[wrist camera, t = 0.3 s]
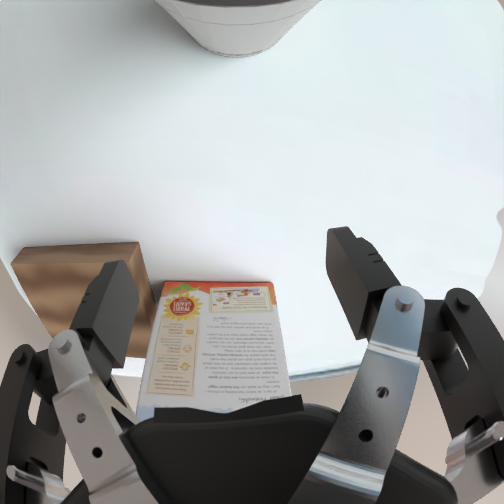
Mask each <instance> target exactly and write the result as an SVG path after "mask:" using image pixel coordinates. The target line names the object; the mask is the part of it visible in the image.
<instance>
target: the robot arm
mask: <svg viewBox="0 0 504 504" xmlns="http://www.w3.org/2000/svg"><path fill="white" fill-rule="evenodd" d="M155 1H156V2H157V3H158V4H159V5H160V6H161V7H163V8H164V9H165V10H166V11H167V12H168V13H169V14H170V15H171V16H172V17H173V18H174V19H175V20H176V21H177V22H178V23H179V24H180V25H181V26H182V27H183V28H184V29H185V30H186V31H187V32H188V33H189V34H190V35H191V36H192V37H193V38H194V39H195V40H196V41H197V42H198V43H199V44H200V45H201V46H203V47H204V48H206V49H207V50H209V51H211V52H213V53H216V54H219V55H223V56H227V57H245V56H251V55H255V54H258V53H261V52H263V51H265V50H267V49H269V48H270V47H271V46H273V45H274V44H276V43H277V42H278V41H279V40H280V39H281V38H282V37H283V36H284V35H285V34H286V33H287V32H288V31H289V30H290V29H291V28H292V27H293V26H294V25H295V24H296V23H297V22H298V21H299V20H300V19H301V18H302V17H303V16H304V15H305V14H307V13H308V12H309V11H310V10H311V9H312V8H313V7H314V6H315V5H316V4H318V3H319V2H320V1H321V0H155ZM326 270H327V274H328V277H329V279H330V281H331V284H332V286H333V288H334V290H335V292H336V295H337V297H338V299H339V301H340V303H341V306H342V308H343V310H344V313H345V315H346V317H347V319H348V322H349V324H350V326H351V329H352V331H353V333H354V336H355V338H356V340H360V339H364V338H367V340H368V343H369V344H368V346H367V349H366V352H365V354H364V357H363V360H362V362H361V365H360V367H359V370H358V372H357V375H356V377H355V380H354V382H353V385H352V387H351V389H350V392H349V394H348V396H347V398H346V400H345V403H344V405H343V407H342V409H341V411H340V412H338V411H336V410H334V409H331V408H329V407H326V406H321V405H317V404H310V403H303V401H302V397H301V394H300V395H294V396H289V397H283V398H277V399H270V400H263V401H261V402H258V403H255V404H253V405H250V406H247V407H244V408H241V409H238V410H235V411H232V412H229V413H217V412H211V411H206V410H200V409H195V408H190V407H154V417H151V418H149V419H146V420H143V421H141V420H140V419H139V418H138V417H137V416H136V415H135V413H134V412H133V411H132V409H131V407H130V405H129V404H128V402H127V400H126V399H125V397H124V395H123V393H122V392H121V390H120V388H119V386H118V385H117V383H116V381H115V379H114V377H113V376H112V375H111V371H112V368H123V367H124V362H125V357H126V353H127V348H128V344H129V340H130V336H131V332H132V328H133V324H134V320H135V316H136V312H137V308H138V305H139V292H138V289H137V286H136V284H135V282H134V280H133V278H132V276H131V273H130V271H129V269H128V267H127V265H126V263H125V261H124V260H115V261H109V262H105V263H104V265H103V267H102V269H101V271H100V273H99V275H98V276H96V277H95V278H94V279H93V280H92V282H91V283H90V284H89V285H88V287H87V289H86V292H85V296H83V298H82V300H81V304H80V305H79V307H78V309H77V311H76V314H75V316H74V318H73V321H72V323H71V325H70V328H69V330H64V331H62V332H60V333H58V334H57V335H56V336H55V337H54V338H53V340H52V341H51V343H50V345H49V348H48V349H46V350H43V351H40V352H37V353H36V352H35V350H34V349H33V348H32V347H31V346H30V345H28V344H23V345H21V346H19V347H18V348H17V349H16V350H15V351H14V352H13V353H12V355H11V357H10V360H9V362H8V365H7V369H6V371H5V374H4V377H3V380H2V383H1V386H0V504H473V503H474V502H476V501H478V500H479V499H481V498H482V497H484V496H485V495H486V494H488V493H489V492H490V491H492V490H493V489H495V488H496V487H497V486H499V485H500V484H502V483H504V340H503V338H502V337H501V335H500V333H499V332H498V330H497V328H496V327H495V325H494V324H493V322H492V321H491V319H490V317H489V316H488V314H487V313H486V311H485V310H484V308H483V307H482V305H481V304H480V302H479V301H478V299H477V298H476V297H475V296H474V295H473V294H472V293H471V292H469V291H468V290H465V289H462V288H453V289H451V290H449V291H448V292H447V294H446V296H445V299H444V300H427V299H423V297H422V296H421V294H420V293H419V292H417V291H416V290H414V289H412V288H410V287H407V286H402V285H401V284H400V282H399V281H398V279H397V278H396V277H395V275H394V274H393V272H392V271H391V269H390V268H389V267H388V265H387V264H386V262H385V261H383V258H382V257H381V256H380V254H378V251H377V250H376V249H375V247H374V246H373V245H372V244H371V243H370V242H368V241H367V240H365V239H364V238H362V237H360V238H356V237H355V235H354V234H353V233H352V231H351V230H350V228H349V227H347V226H346V227H338V228H331V229H328V232H327V247H326ZM458 346H459V348H460V350H461V352H462V354H463V356H464V358H465V360H466V362H467V364H468V369H467V367H466V365H465V362H464V360H463V358H462V356H461V354H460V352H459V350H458ZM420 360H423V362H424V365H425V367H426V369H427V372H428V374H429V377H430V379H431V382H432V384H433V387H434V389H435V392H436V394H437V397H438V400H439V402H440V405H441V408H442V410H443V413H444V416H445V419H446V422H447V425H448V428H449V431H450V434H451V437H452V441H451V443H450V445H449V447H448V450H447V456H446V459H445V462H446V464H447V470H446V473H445V476H442V475H440V474H438V473H436V472H434V471H433V470H431V469H429V468H427V467H426V466H424V465H422V464H420V463H419V462H417V461H415V460H413V459H412V458H410V457H408V456H407V455H405V454H403V453H402V452H400V451H398V450H397V449H396V446H397V443H398V441H399V438H400V435H401V432H402V429H403V426H404V423H405V420H406V417H407V414H408V410H409V407H410V403H411V400H412V396H413V392H414V389H415V385H416V380H417V376H418V372H419V367H420ZM468 370H469V371H468ZM33 392H34V393H36V394H37V395H38V396H39V397H40V398H41V401H40V406H39V410H38V415H37V420H36V425H34V424H32V423H31V421H30V419H29V416H28V409H29V405H30V401H31V397H32V393H33ZM66 441H67V444H68V446H69V448H70V451H71V453H72V455H73V458H74V460H75V462H76V464H77V466H78V468H79V470H80V473H81V475H82V477H83V480H82V481H81V482H80V483H79V484H78V485H77V486H76V487H75V488H74V489H73V490H72V491H71V492H70V490H69V489H68V488H65V486H64V484H63V467H64V466H63V465H64V455H65V444H66Z"/></svg>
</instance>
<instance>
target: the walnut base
mask: <svg viewBox="0 0 504 504" xmlns="http://www.w3.org/2000/svg"><path fill="white" fill-rule="evenodd" d="M115 260H124V261H125V263H126V265H127V267H128V269H129V271H130V273H131V276H132V278H133V280H134V282H135V284H136V286H137V289H138V292H139V305H138V308H137V312H136V316H135V320H134V324H133V328H132V332H131V336H130V340H129V344H128V348H127V353H126V357H135V358H146V355H147V351H148V346H149V342H150V337H151V333H152V329H153V325H154V321H155V317H156V312H157V306H156V303H155V300H154V296H153V293H152V290H151V286H150V283H149V279H148V276H147V272H146V268H145V265H144V261H143V257H142V253H141V249H140V245H139V242H127V243H104V244H82V245H62V246H43V247H26V248H23V249H22V251H21V252H20V253H19V254H18V255H17V256H16V258H15V259H14V260H13V261H12V262H11V266H12V268H13V270H14V272H15V274H16V276H17V278H18V280H19V282H20V284H21V286H22V288H23V290H24V292H25V294H26V295H27V297H28V299H29V301H30V303H31V304H32V306H33V308H34V309H35V311H36V313H37V314H38V316H39V318H40V319H41V321H42V323H43V324H44V326H45V327H46V329H47V330H48V332H49V333H50V335H51V336H52V338H54V337H55V336H56V335H57V334H58V333H60V332H62V331H64V330H69V328H70V325H71V323H72V321H73V318H74V316H75V314H76V311H77V309H78V307H79V305H80V304H81V300H82V298H83V296H85V292H86V289H87V287H88V285H89V284H90V283H91V282H92V280H93V279H94V278H95V277H96V276H98V275H99V273H100V271H101V269H102V267H103V265H104V263H105V262H109V261H115Z"/></svg>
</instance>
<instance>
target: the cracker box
mask: <svg viewBox="0 0 504 504" xmlns="http://www.w3.org/2000/svg"><path fill="white" fill-rule="evenodd" d="M289 396H292V395H291V388H290V381H289V375H288V369H287V362H286V356H285V350H284V343H283V337H282V331H281V325H280V319H279V314H278V308H277V302H276V297H275V291H274V286H273V283H222V282H171V281H167V282H165V283H164V286H163V290H162V293H161V297H160V301H159V305H158V309H157V312H156V317H155V321H154V325H153V329H152V333H151V337H150V342H149V346H148V351H147V355H146V360H145V365H144V370H143V375H142V380H141V385H140V391H139V398H138V403H137V409H136V416H137V417H138V418H139V419H140V420H141V421H143V420H146V419H149V418H151V417H154V407H190V408H195V409H200V410H206V411H211V412H217V413H229V412H232V411H235V410H238V409H241V408H244V407H247V406H250V405H253V404H255V403H258V402H261V401H263V400H270V399H277V398H283V397H289Z"/></svg>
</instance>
